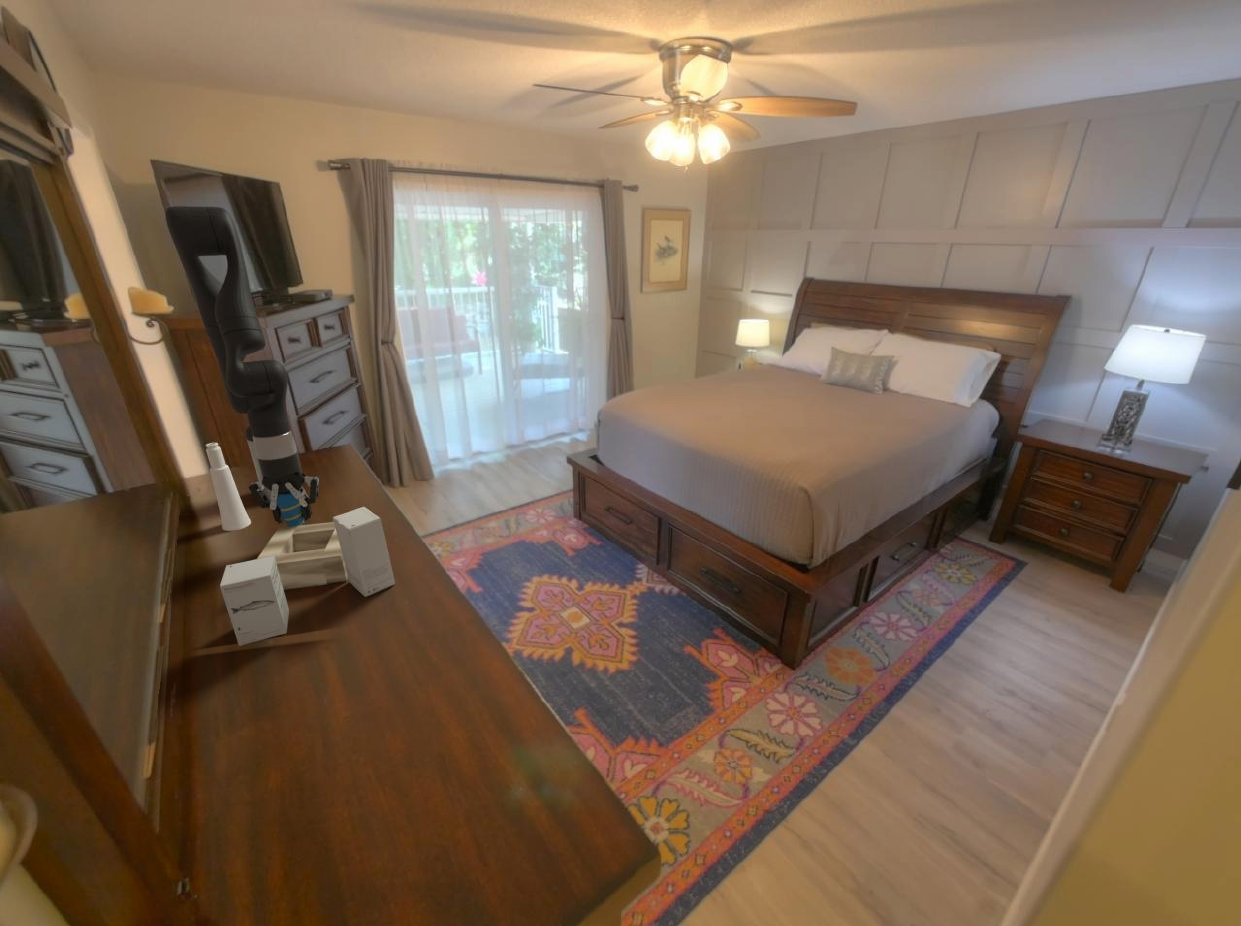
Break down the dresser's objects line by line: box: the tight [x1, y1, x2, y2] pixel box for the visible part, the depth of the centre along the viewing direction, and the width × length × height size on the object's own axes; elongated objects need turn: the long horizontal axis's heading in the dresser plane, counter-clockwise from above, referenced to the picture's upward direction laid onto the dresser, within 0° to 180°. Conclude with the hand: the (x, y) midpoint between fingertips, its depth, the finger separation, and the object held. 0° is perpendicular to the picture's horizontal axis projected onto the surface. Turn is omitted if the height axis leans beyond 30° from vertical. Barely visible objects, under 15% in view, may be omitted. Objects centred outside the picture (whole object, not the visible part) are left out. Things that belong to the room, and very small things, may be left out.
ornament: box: [277, 491, 306, 527], centre depth 118 cm, size 5×5×15 cm
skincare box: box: [332, 506, 396, 598], centre depth 102 cm, size 8×7×16 cm
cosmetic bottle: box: [205, 442, 252, 532], centre depth 123 cm, size 6×6×22 cm
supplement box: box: [219, 556, 290, 647], centre depth 90 cm, size 7×7×13 cm
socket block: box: [256, 521, 349, 591], centre depth 110 cm, size 16×16×6 cm
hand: (294, 520), depth 118 cm, fingers closed on ornament, 5 cm apart
